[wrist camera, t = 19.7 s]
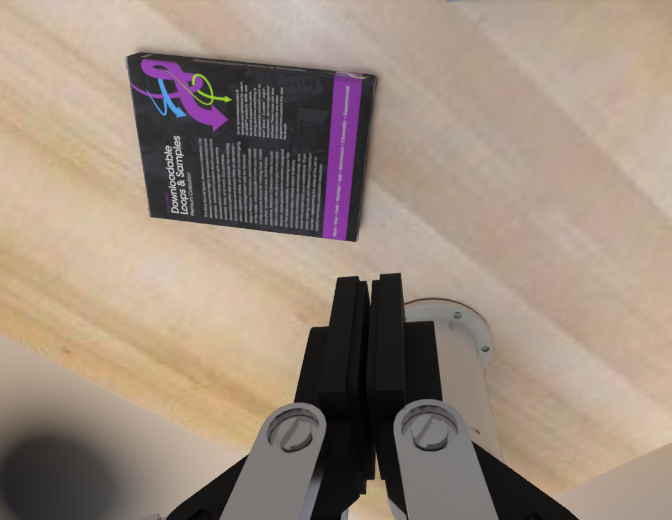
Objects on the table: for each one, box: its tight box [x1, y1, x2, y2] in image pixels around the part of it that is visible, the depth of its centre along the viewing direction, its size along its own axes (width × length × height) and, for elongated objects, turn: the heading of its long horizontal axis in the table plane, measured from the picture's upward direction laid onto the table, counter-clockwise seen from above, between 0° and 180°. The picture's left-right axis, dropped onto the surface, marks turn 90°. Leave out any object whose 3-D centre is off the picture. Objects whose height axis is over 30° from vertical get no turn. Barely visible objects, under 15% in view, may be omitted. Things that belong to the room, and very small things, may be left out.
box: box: [125, 53, 377, 242], centre depth 40 cm, size 14×4×20 cm
